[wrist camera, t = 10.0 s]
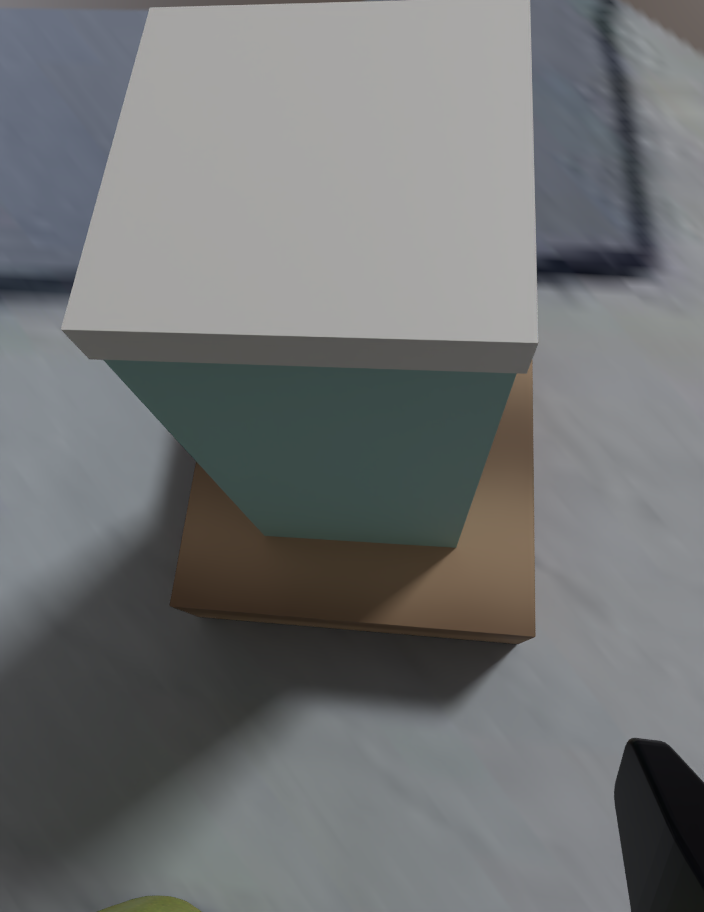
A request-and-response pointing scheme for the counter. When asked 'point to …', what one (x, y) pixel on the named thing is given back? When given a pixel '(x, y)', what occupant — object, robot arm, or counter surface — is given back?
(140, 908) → the plant pot
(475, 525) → the walnut block
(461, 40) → the tea tin
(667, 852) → the robot arm
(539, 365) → the counter surface
